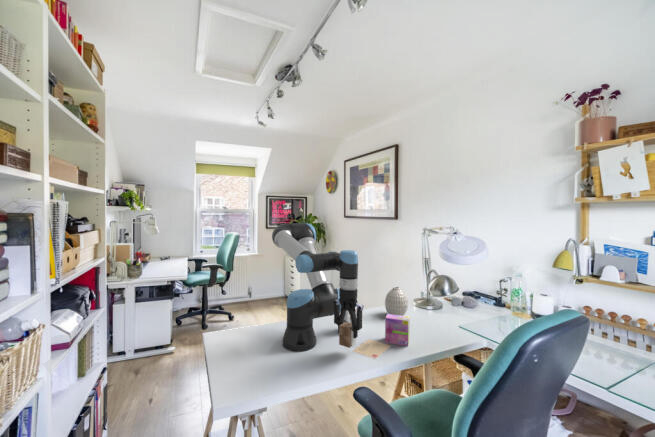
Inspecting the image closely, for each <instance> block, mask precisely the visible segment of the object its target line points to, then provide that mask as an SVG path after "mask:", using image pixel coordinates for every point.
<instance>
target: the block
mask: <svg viewBox="0 0 655 437" xmlns="http://www.w3.org/2000/svg"><path fill="white" fill-rule="evenodd" d="M351 330H353V328H352V323H348V322H345V323H343V324H341V325H339V333H338V334H339V335H338V337H339V338H338V345H340V346H342V347H345V348H348V349H349V348H351V347H352V346H351Z"/></svg>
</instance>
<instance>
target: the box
mask: <svg viewBox="0 0 655 437" xmlns="http://www.w3.org/2000/svg"><path fill="white" fill-rule="evenodd" d="M410 321H411V316H408V315H407V316H406V315H403V316H400V315H392V314H388V313H387V314H386V316H385V321H384V322H385V324H384V325H385V327H384V328H385V331H384V343H385V344H393V345H399V346H405V347H409V343H410V331H411V330H410V327H411V326H410V325H411V324H410Z"/></svg>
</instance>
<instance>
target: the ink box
mask: <svg viewBox="0 0 655 437" xmlns="http://www.w3.org/2000/svg"><path fill="white" fill-rule="evenodd" d="M356 308H357V307H355V310H356V312H355V313H356V319H357V309H356ZM345 322H348V323H351V318H350V314H349V311H346V314H345V318H344V322H343V323H345Z"/></svg>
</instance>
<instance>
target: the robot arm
mask: <svg viewBox="0 0 655 437" xmlns="http://www.w3.org/2000/svg"><path fill="white" fill-rule="evenodd" d="M271 239H272V242H273V244H274V245H275V246H276V247H277V248H280V249H282V250H283V251H284V252H285V253H287V254H288V255H289V257H291V258H292V259H293V260H294V262H295V263H294V264H295V268H296V271H297V272H298V273H301V274H303V273H304V274H306V276H307V278H308V282H309V284H310V288H311V289H309V288H303V289H302V288H301V289H296V290H292V292H290V293H289V294H288V296H287V300H286V328H285V329H284V333H283V337H282V346H283V348H285V349H286V350H288V351H292V352H293V351H294V352H305V351H308V350H312V349H314V348H315V347H316V346H317V336H316V334H315V330H314V319H319V318H324V317H325V318H326V317H331V316H333V323H334V325H336V326H337V333H338V334H339V325H341V324H343V322H344V318H345V314H346V311H349V314H350V318H351V323H352V328H353V330H351V347H354V346H356V345H357V338H358V337H359V336H358V332H359V331H360V330H361V329H362V328H363V310H364V305H363V304H359V303H358V285H359V284H358V281H359V280H358V278H359V273H358V272H359V255H358V251H356V250H351V249H350V250H349V249H346V250H345V249H344V250H343V249H342V250H341V251H339V252H337V251H328V252H326V253H325V252H322V253H317V251H316V249H315V242H316V240H317V232H316V229H315V227H314V225H312V224H311V223H309V222H307V223H306V222H300V223H295V222H293V223H291V222H290V223H281V224H279V225H276V227H274V229H273V231H272V234H271ZM327 271H328V272H329V271H338V272H339V288H335V287H334V285H333V283H332V282H330V281H328V278H327V276H326V273H325V272H327ZM355 307H357V308H356V309H357V319H356V313H355V312H356V310H355Z"/></svg>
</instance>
